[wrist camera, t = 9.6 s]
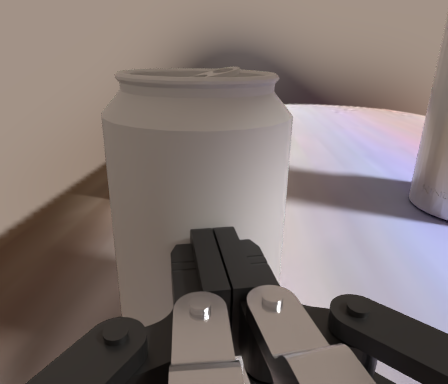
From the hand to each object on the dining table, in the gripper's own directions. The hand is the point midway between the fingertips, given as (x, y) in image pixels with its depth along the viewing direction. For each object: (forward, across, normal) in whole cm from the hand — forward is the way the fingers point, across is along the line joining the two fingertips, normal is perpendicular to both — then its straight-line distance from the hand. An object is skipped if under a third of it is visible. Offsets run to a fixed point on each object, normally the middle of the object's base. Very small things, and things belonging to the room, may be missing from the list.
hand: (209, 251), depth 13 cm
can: (+4, 0, +6) cm, 7 cm away
